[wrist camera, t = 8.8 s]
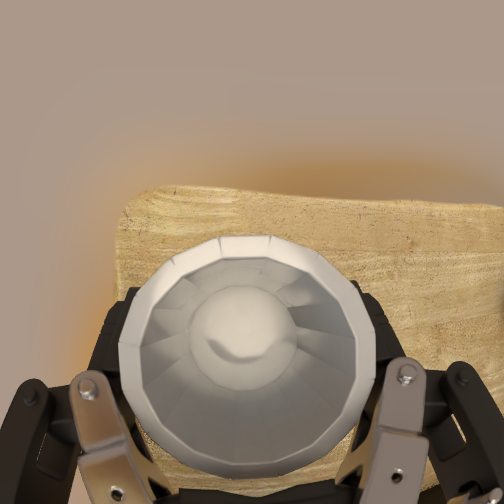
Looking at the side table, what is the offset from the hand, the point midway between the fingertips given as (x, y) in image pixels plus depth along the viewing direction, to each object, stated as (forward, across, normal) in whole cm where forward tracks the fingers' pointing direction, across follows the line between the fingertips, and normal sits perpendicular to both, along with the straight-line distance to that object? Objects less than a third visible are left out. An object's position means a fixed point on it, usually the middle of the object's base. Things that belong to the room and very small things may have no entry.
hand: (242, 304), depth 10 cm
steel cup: (+2, 0, +4) cm, 5 cm away
